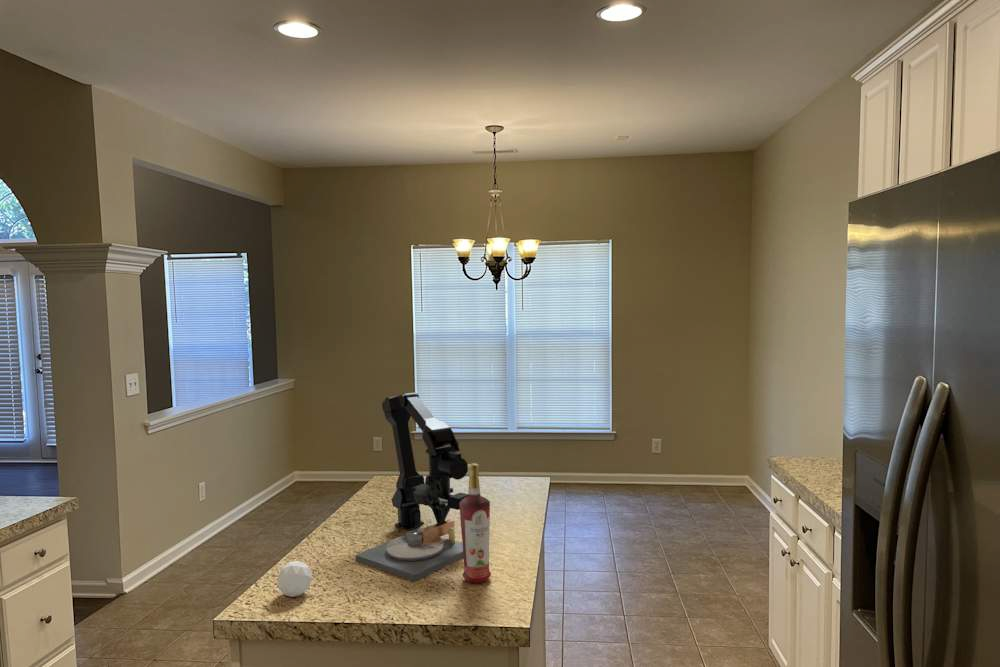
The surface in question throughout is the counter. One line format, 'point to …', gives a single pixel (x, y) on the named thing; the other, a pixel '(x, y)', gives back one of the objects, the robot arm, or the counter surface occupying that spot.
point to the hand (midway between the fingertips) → (440, 526)
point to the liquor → (475, 530)
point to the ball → (294, 578)
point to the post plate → (413, 568)
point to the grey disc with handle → (419, 543)
